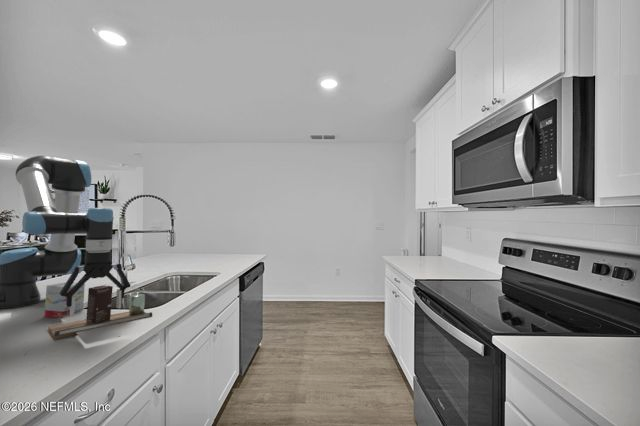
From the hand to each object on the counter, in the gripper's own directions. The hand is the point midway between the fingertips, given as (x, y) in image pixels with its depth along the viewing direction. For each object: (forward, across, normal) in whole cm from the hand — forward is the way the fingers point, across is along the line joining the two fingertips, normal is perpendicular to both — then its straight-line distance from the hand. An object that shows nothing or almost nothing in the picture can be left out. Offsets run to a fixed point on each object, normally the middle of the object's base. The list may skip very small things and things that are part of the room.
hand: (96, 311), depth 108 cm
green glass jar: (+4, +13, 0) cm, 13 cm away
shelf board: (+5, +2, -1) cm, 5 cm away
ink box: (+5, -5, +22) cm, 23 cm away
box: (+4, +1, 0) cm, 4 cm away
